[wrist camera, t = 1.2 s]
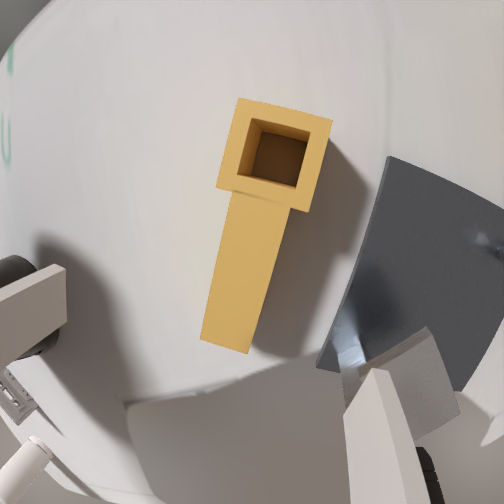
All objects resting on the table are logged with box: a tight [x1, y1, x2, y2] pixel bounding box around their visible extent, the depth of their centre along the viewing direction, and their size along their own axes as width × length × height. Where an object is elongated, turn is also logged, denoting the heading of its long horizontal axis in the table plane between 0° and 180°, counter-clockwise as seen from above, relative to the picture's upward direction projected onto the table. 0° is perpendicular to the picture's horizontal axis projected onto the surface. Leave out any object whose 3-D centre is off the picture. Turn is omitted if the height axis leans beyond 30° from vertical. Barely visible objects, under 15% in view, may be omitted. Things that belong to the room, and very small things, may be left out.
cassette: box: [0, 367, 38, 425], centre depth 38 cm, size 12×2×8 cm, turn 48°
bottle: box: [0, 436, 54, 504], centre depth 35 cm, size 8×8×28 cm
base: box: [316, 156, 504, 392], centre depth 20 cm, size 20×21×11 cm
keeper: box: [338, 326, 460, 441], centre depth 22 cm, size 8×10×10 cm
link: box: [200, 98, 333, 354], centre depth 23 cm, size 18×6×6 cm, turn 165°
